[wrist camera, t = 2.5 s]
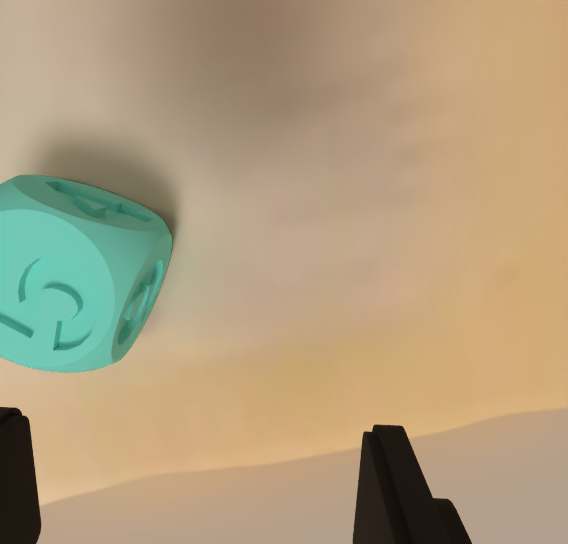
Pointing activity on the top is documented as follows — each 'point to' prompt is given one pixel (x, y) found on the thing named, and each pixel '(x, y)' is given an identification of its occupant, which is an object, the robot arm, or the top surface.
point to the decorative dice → (75, 273)
